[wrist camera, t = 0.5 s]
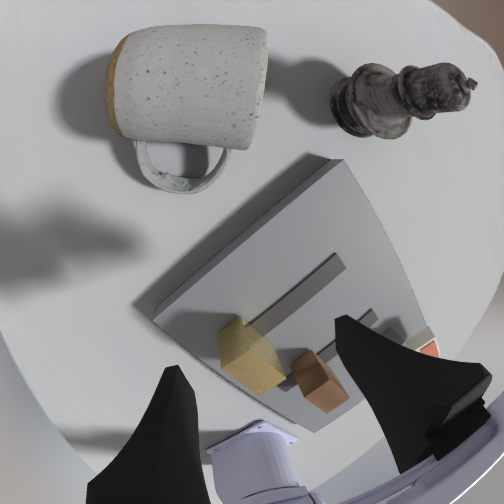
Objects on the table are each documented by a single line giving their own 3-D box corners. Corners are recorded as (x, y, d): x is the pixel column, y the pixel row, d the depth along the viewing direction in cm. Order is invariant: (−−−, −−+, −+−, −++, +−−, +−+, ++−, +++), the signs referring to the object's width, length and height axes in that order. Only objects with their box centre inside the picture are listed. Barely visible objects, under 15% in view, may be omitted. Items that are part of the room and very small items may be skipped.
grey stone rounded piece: (312, 100, 18) (423, 53, 7) (354, 62, 17) (460, 17, 6) (360, 155, 20) (483, 163, 9) (396, 114, 19) (509, 106, 8)
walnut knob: (311, 384, 24) (327, 413, 20) (289, 365, 22) (304, 397, 18) (332, 369, 23) (349, 397, 20) (311, 349, 22) (329, 379, 18)
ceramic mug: (141, 53, 15) (114, 5, 8) (252, 56, 16) (280, 8, 9) (128, 190, 18) (87, 209, 11) (240, 193, 20) (263, 212, 12)
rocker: (381, 379, 25) (385, 391, 24) (367, 360, 24) (371, 374, 22) (435, 347, 23) (441, 358, 22) (427, 323, 22) (435, 335, 20)
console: (309, 421, 29) (321, 449, 25) (155, 307, 21) (147, 342, 16) (421, 331, 28) (445, 351, 24) (331, 159, 20) (365, 159, 15)
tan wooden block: (249, 362, 21) (259, 396, 18) (216, 334, 20) (221, 369, 16) (272, 345, 21) (286, 378, 17) (240, 315, 20) (250, 348, 16)
